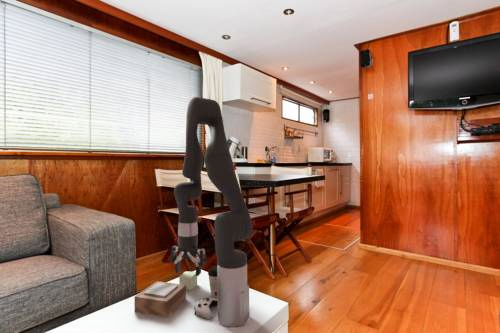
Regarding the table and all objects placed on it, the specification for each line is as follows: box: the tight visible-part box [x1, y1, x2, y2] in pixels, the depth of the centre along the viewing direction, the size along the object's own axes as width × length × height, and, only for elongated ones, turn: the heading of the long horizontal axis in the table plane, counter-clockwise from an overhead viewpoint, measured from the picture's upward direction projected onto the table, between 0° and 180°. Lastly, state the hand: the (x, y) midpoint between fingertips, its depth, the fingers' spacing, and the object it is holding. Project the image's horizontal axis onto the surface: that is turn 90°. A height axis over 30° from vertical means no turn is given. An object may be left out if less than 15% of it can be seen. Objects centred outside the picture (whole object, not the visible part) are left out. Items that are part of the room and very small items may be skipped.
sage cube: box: [178, 270, 198, 291], centre depth 107 cm, size 5×5×5 cm
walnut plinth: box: [134, 280, 187, 318], centre depth 93 cm, size 12×12×6 cm
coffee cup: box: [207, 265, 217, 299], centre depth 99 cm, size 7×7×10 cm
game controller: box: [193, 297, 217, 320], centre depth 90 cm, size 10×5×6 cm
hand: (187, 273), depth 107 cm, fingers open, 8 cm apart
